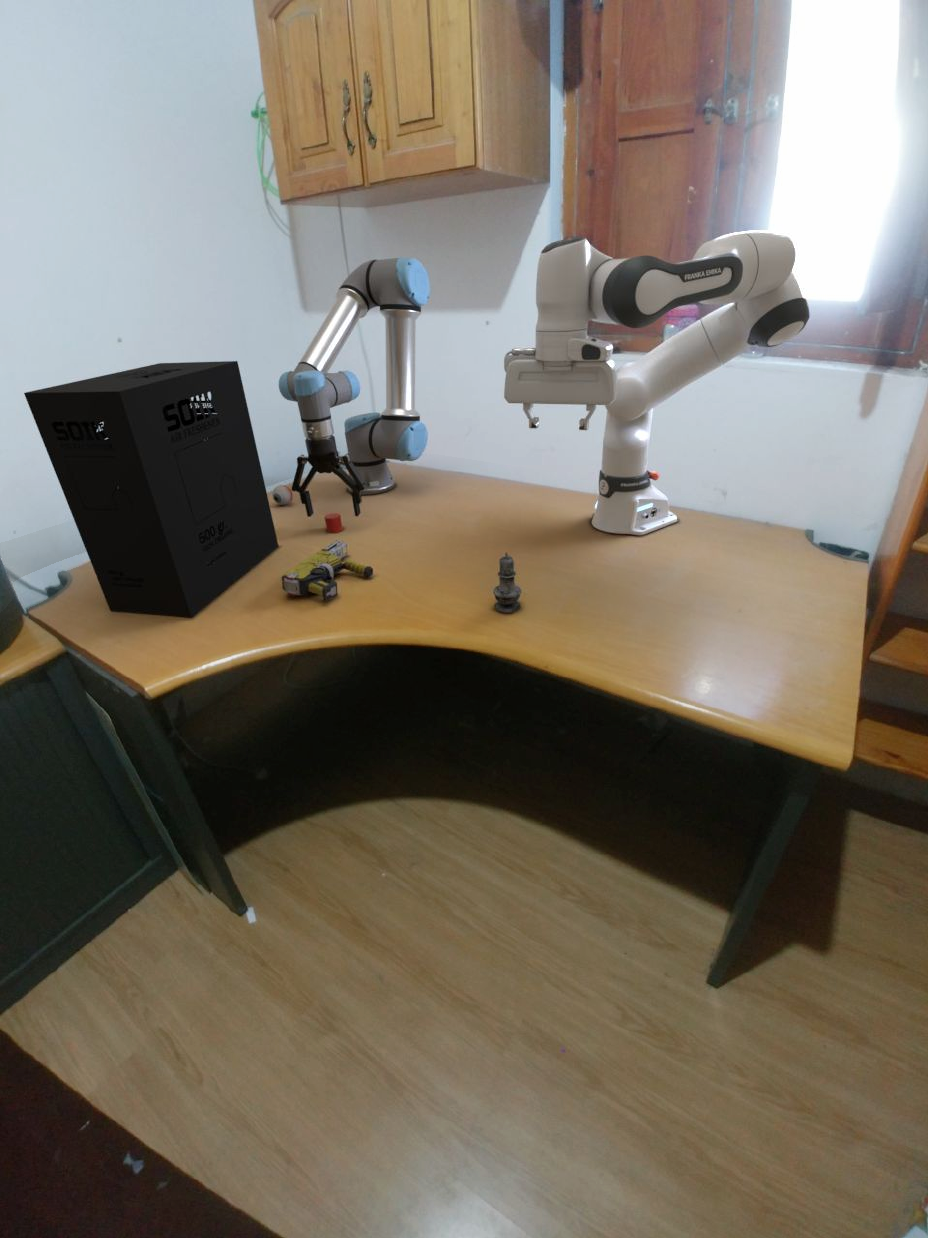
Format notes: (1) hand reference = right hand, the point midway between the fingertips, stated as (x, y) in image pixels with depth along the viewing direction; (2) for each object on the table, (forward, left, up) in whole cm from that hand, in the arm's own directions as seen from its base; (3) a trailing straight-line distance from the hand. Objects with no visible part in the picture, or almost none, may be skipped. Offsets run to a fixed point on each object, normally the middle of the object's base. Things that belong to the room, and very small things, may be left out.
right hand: (558, 428), depth 112 cm
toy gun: (+40, -30, -34) cm, 60 cm away
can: (+33, -61, -34) cm, 77 cm away
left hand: (+32, -61, -30) cm, 75 cm away
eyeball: (+41, -90, -34) cm, 105 cm away
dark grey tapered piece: (+12, +2, -34) cm, 36 cm away
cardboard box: (+68, -48, -34) cm, 90 cm away
